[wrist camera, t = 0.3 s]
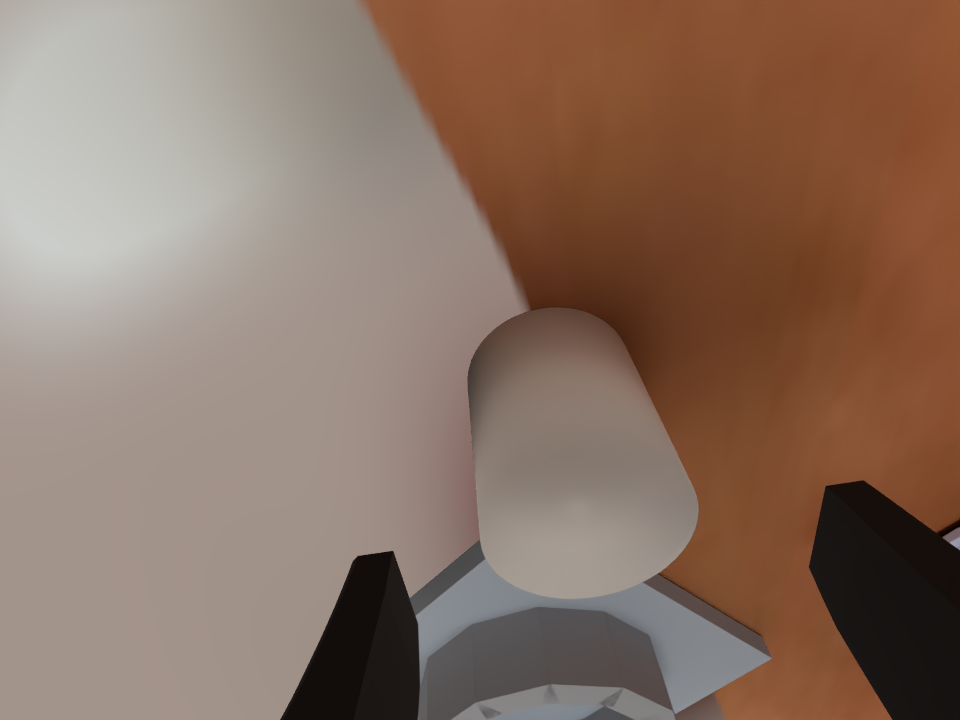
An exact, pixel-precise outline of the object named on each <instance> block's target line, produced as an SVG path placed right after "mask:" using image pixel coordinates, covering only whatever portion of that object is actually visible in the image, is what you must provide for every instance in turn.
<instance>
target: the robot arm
mask: <svg viewBox="0 0 960 720" xmlns="http://www.w3.org/2000/svg"><path fill="white" fill-rule="evenodd" d="M809 568H810V571H811V573H812V575H813V577H814V580H815V582H816V584H817V586H818V589H819V591H820V593H821V595H822V598H823V600H824V602H825V604H826V606H827V608H828V610H829V613H830V615H831V617H832V619H833V621H834V623H835V625H836V627H837V629H838V631H839V632H840V634H841V636H842V637H843V639H844V641H845V642H846V644H847V646H848V647H849V649H850V651H851V652H852V654H853V656H854V657H855V659H856V661H857V662H858V664H859V666H860V667H861V669H862V671H863V672H864V674H865V676H866V677H867V679H868V681H869V682H870V684H871V685H872V687H873V689H874V690H875V692H876V694H877V695H878V697H879V698H880V700H881V702H882V703H883V705H884V707H885V708H886V710H887V712H888V713H889V715H890V716H891V718H892V720H960V527H959V528H957V529H955V530H953V531H952V532H950V533H948V534H947V535H945V536H943V537H941V536H940V535H938V534H937V533H935V532H934V531H933V530H931V529H930V528H928V527H927V526H926V525H924V524H923V523H922V522H920V521H919V520H917V519H916V518H915V517H913V516H912V515H911V514H909V513H908V512H906V511H905V510H904V509H902V508H901V507H900V506H898V505H897V504H896V503H894V502H893V501H891V500H890V499H889V498H887V497H886V496H885V495H883V494H882V493H880V492H879V491H878V490H876V489H875V488H873V487H872V486H871V485H869V484H868V483H866V482H865V481H864V480H863V481H856V482H850V483H843V484H836V485H829V486H826V487H825V492H824V497H823V502H822V506H821V511H820V516H819V521H818V526H817V531H816V536H815V540H814V545H813V550H812V555H811V560H810V565H809ZM419 695H420V661H419V632H418V622H417V619H416V616H415V613H414V610H413V607H412V604H411V601H410V599H409V596H408V593H407V590H406V587H405V584H404V581H403V578H402V575H401V572H400V569H399V567H398V564H397V561H396V558H395V555H394V552H393V551H390V552H382V553H375V554H369V555H362V556H357V558H356V559H355V560H354V561H353V563H352V565H351V568H350V571H349V573H348V576H347V578H346V581H345V583H344V586H343V588H342V590H341V593H340V595H339V598H338V601H337V603H336V605H335V608H334V610H333V612H332V614H331V617H330V619H329V621H328V624H327V626H326V628H325V630H324V632H323V635H322V637H321V639H320V641H319V643H318V645H317V647H316V650H315V652H314V654H313V656H312V658H311V660H310V662H309V664H308V666H307V668H306V671H305V673H304V675H303V677H302V679H301V681H300V683H299V685H298V687H297V689H296V691H295V693H294V695H293V697H292V699H291V701H290V703H289V704H288V706H287V708H286V710H285V712H284V714H283V716H282V718H281V719H280V720H418V710H419Z"/></svg>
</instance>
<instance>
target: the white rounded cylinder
mask: <svg viewBox="0 0 960 720" xmlns="http://www.w3.org/2000/svg"><path fill="white" fill-rule="evenodd" d="M468 396H469V408H470V421H471V434H472V446H473V457H474V470H475V471H474V472H475V483H476V497H477V508H478V521H479V535H480V543H481V548H482V551H483V554H484V556H485V559H486V560H487V562H488V563H489V565H490V566H491V568H492V569H493V570H494V571H495V572H496V573H497V574H498V575H499V576H500V577H502V578H503V579H504V580H505V581H507V582H508V583H510V584H512V585H513V586H515V587H517V588H520V589H522V590H524V591H527V592H530V593H533V594H536V595H541V596H545V597H551V598H560V599H582V598H592V597H599V596H604V595H608V594H613V593H616V592H619V591H622V590H626V589H628V588H631V587H633V586H635V585H638V584H640V583H642V582H644V581H646V580H648V579H650V578H651V577H653V576H654V575H656V574H658V573H659V572H661V571H662V570H663V569H664V568H666V567H667V566H668V565H670V564H671V563H672V562H673V561H674V560H675V559H676V558H677V557H678V556H679V555H680V553H681V552H682V551H683V550H684V549H685V547H686V546H687V544H688V543H689V541H690V539H691V537H692V535H693V533H694V531H695V528H696V524H697V520H698V511H699V508H698V499H697V496H696V493H695V490H694V488H693V486H692V483H691V481H690V479H689V477H688V475H687V473H686V471H685V469H684V467H683V465H682V463H681V461H680V459H679V456H678V454H677V452H676V450H675V448H674V446H673V444H672V442H671V440H670V438H669V436H668V434H667V431H666V429H665V427H664V425H663V423H662V421H661V419H660V417H659V415H658V413H657V411H656V409H655V407H654V404H653V402H652V400H651V398H650V396H649V394H648V392H647V390H646V388H645V386H644V384H643V382H642V379H641V377H640V375H639V373H638V371H637V369H636V367H635V365H634V363H633V361H632V359H631V357H630V355H629V352H628V350H627V348H626V346H625V344H624V342H623V341H622V339H621V337H620V336H619V335H618V333H617V332H616V331H615V330H614V329H613V328H612V327H611V326H610V325H609V324H608V323H606V322H605V321H603V320H602V319H600V318H598V317H596V316H594V315H592V314H590V313H587V312H584V311H581V310H577V309H572V308H562V307H554V308H543V309H536V310H533V311H529V312H525V313H522V314H520V315H517V316H515V317H513V318H511V319H509V320H507V321H506V322H504V323H502V324H501V325H500V326H498V327H497V328H496V329H494V330H493V331H492V332H491V333H490V334H489V335H488V336H487V337H486V338H485V339H484V340H483V342H482V343H481V344H480V346H479V347H478V349H477V350H476V352H475V354H474V356H473V358H472V360H471V364H470V367H469V372H468Z"/></svg>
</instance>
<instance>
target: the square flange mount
mask: <svg viewBox="0 0 960 720" xmlns="http://www.w3.org/2000/svg"><path fill="white" fill-rule="evenodd" d="M410 601H411V604H412V607H413V610H414V613H415V616H416V619H417V622H418V632H419V661H420V695H419V710H418V720H676V716H675V714H676V713H678V712H680V711H681V710H683V709H685V708H687V707H688V706H690V705H692V704H693V703H695V702H697V701H699V700H700V699H702V698H704V697H706V696H707V695H709V694H711V693H713V692H714V691H716V690H718V689H720V688H721V687H723V686H725V685H727V684H728V683H730V682H732V681H734V680H735V679H737V678H739V677H741V676H742V675H744V674H746V673H748V672H749V671H751V670H753V669H755V668H756V667H758V666H760V665H762V664H763V663H765V662H767V661H769V660H770V659H772V657H771V655H770V653H769V651H768V648H767V646H766V644H765V642H764V640H763V638H762V637H761V636H760V635H758V634H756V633H755V632H753V631H751V630H750V629H748V628H746V627H745V626H743V625H741V624H740V623H738V622H736V621H735V620H733V619H732V618H730V617H728V616H727V615H725V614H723V613H722V612H720V611H718V610H717V609H715V608H713V607H712V606H710V605H708V604H707V603H705V602H703V601H702V600H700V599H698V598H697V597H695V596H693V595H692V594H690V593H688V592H687V591H685V590H683V589H682V588H680V587H678V586H677V585H675V584H673V583H672V582H670V581H668V580H667V579H665V578H663V577H662V576H660V575H659V574H656V575H654V576H653V577H651V578H650V579H648V580H646V581H644V582H642V583H640V584H638V585H635V586H633V587H631V588H628V589H626V590H622V591H619V592H616V593H613V594H608V595H604V596H599V597H592V598H582V599H560V598H551V597H545V596H541V595H536V594H533V593H530V592H527V591H524V590H522V589H520V588H517V587H515V586H513V585H512V584H510V583H508V582H507V581H505V580H504V579H503V578H502V577H500V576H499V575H498V574H497V573H496V572H495V571H494V570H493V569H492V568H491V566H490V565H489V563H488V562H487V560H486V559H485V556H484V554H483V551H482V548H481V543H480V540H479V541H478V542H477V543H475V544H474V545H473V546H472V547H471V548H470V549H468V550H467V551H466V552H465V553H464V554H462V555H461V556H460V557H459V558H458V559H456V560H455V561H454V562H453V563H452V564H450V565H449V566H448V567H447V568H446V569H444V570H443V571H442V572H441V573H440V574H438V576H436V577H435V578H434V579H432V580H431V581H430V582H429V583H428V584H427V585H425V586H424V587H423V588H422V589H420V590H419V591H418V592H417V593H416V594H414V595H413V596H412V597H411V598H410Z"/></svg>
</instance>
